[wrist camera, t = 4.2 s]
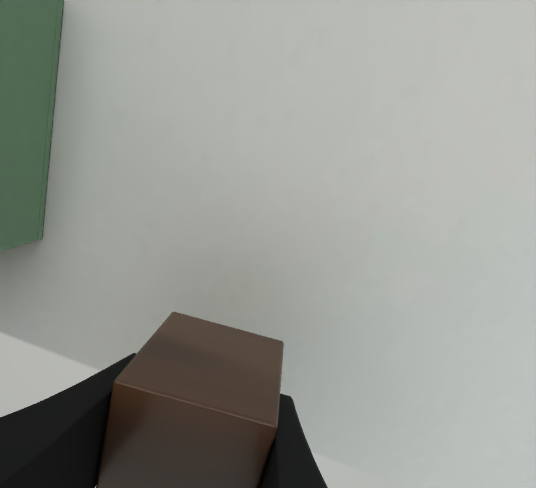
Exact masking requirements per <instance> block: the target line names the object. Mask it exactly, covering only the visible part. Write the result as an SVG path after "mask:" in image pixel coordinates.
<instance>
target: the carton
mask: <svg viewBox="0 0 536 488" xmlns="http://www.w3.org/2000/svg"><path fill="white" fill-rule="evenodd" d="M62 11H63V0H0V251H2V250H5V249H9V248H12V247H16V246H19V245H23V244H26V243H30V242H33V241H37V240H40V239H42V232H43V221H44V210H45V199H46V188H47V177H48V166H49V155H50V144H51V133H52V122H53V111H54V100H55V89H56V78H57V67H58V56H59V45H60V33H61V22H62Z"/></svg>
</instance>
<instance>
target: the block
mask: <svg viewBox="0 0 536 488" xmlns="http://www.w3.org/2000/svg"><path fill="white" fill-rule="evenodd" d="M283 347H284V343H283V342H282V341H279V340H276V339H272V338H268V337H265V336H261V335H257V334H254V333H250V332H246V331H243V330H239V329H236V328H232V327H228V326H225V325H221V324H217V323H214V322H210V321H206V320H203V319H199V318H195V317H192V316H188V315H184V314H181V313H177V312H172V313H171V314H170V316H169V317H168V318H167V319H166V320H165V321H164V323H163V324H162V325H161V326H160V327H159V328H158V330H157V331H156V332H155V333H154V334H153V335H152V337H151V338H150V339H149V340H148V341H147V343H146V344H145V345H144V346H143V347H142V348H141V350H140V351H139V352H138V353H137V354H136V355H135V357H134V358H133V359H132V360H131V361H130V362H129V364H128V365H127V366H126V367H125V368H124V369H123V371H122V372H121V373H120V374H119V375H118V376H117V378H116V379H115V380H114V383H113V389H112V395H111V401H110V407H109V413H108V419H107V425H106V431H105V437H104V443H103V449H102V455H101V461H100V467H99V473H98V479H97V485H96V488H259V485H260V482H261V479H262V476H263V472H264V469H265V466H266V463H267V459H268V456H269V453H270V450H271V446H272V443H273V440H274V437H275V434H276V430H277V427H278V414H279V401H280V387H281V374H282V360H283Z"/></svg>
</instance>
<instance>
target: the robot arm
mask: <svg viewBox="0 0 536 488" xmlns="http://www.w3.org/2000/svg"><path fill="white" fill-rule="evenodd" d="M135 355H136V353H133V354H131V355H129V356H127V357H126V358H124V359H122V360H120V361H118V362H116V363H115V364H113V365H111V366H109V367H108V368H106V369H104V370H102V371H100V372H99V373H97V374H95V375H93V376H91V377H89V378H87V379H86V380H84V381H82V382H80V383H78V384H76V385H74V386H72V387H70V388H68V389H66V390H64V391H62V392H59V393H57V394H55V395H53V396H51V397H49V398H47V399H45V400H43V401H40V402H38V403H36V404H33V405H31V406H29V407H26V408H24V409H21V410H19V411H16V412H13V413H11V414H8V415H6V416H3V417H0V488H95V486H96V485H97V479H98V473H99V467H100V461H101V455H102V449H103V443H104V437H105V431H106V425H107V419H108V413H109V407H110V401H111V395H112V389H113V383H114V380H115V379H116V378H117V376H118V375H119V374H120V373H121V372H122V371H123V369H124V368H125V367H126V366H127V365H128V364H129V362H130V361H131V360H132V359H133V358H134V357H135ZM259 488H327V485H326V483H325V481H324V479H323V477H322V475H321V473H320V471H319V469H318V467H317V464H316V462H315V460H314V458H313V455H312V453H311V450H310V448H309V445H308V443H307V440H306V438H305V435H304V433H303V430H302V427H301V424H300V421H299V418H298V415H297V412H296V409H295V406H294V402H293V399H292V398H291V396H287V395H284V394H280V401H279V414H278V427H277V430H276V434H275V437H274V440H273V443H272V446H271V450H270V453H269V456H268V459H267V463H266V466H265V469H264V472H263V476H262V479H261V482H260V485H259Z"/></svg>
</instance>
